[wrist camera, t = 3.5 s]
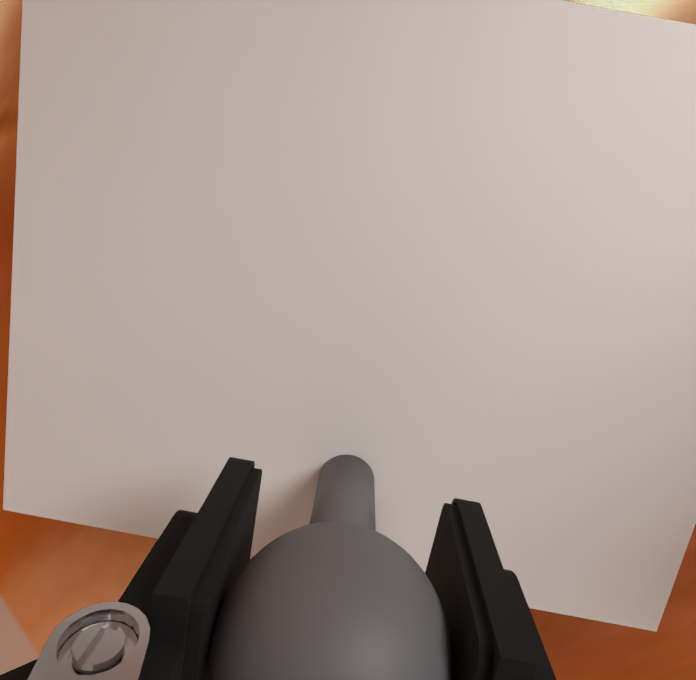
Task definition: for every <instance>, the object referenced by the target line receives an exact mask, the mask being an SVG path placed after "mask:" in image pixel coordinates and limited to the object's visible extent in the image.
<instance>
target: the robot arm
mask: <svg viewBox="0 0 696 680" xmlns="http://www.w3.org/2000/svg"><path fill="white" fill-rule="evenodd" d="M254 466H255V463H254V461H250V460H245V459H239V458H234V457H230V458H229V459H228V461H227V462H226V464H225V466H224V468H223V469H222V471H221V473H220V475H219V476H218V478H217V480H216V482H215V484H214V485H213V487H212V489H211V491H210V492H209V494H208V496H207V498H206V499H205V501H204V503H203V505H202V506H201V508H200V510H199V512H198V513H196V512H190V511H185V510H178V511H177V512H176V513H175V514H174V515H173V517H172V518H171V520H170V521H169V523H168V525H167V526H166V528H165V529H164V531H163V532H162V534H161V535H160V537H159V539H158V540H157V542H156V543H155V545H154V546H153V548H152V550H151V551H150V553H149V554H148V556H147V557H146V559H145V560H144V562H143V564H142V565H141V567H140V568H139V570H138V571H137V573H136V574H135V576H134V578H133V579H132V581H131V582H130V584H129V585H128V587H127V588H126V590H125V592H124V593H123V595H122V596H121V598H120V599H119V601H118V602H115V601H113V602H103V603H97V604H94V605H91V606H87V607H84V608H82V609H80V610H78V611H77V612H75V613H73V614H71V615H69V616H68V617H67V618H66V619H65V620H63V621H62V622H61V623H60V624H59V625H58V626H57V627H56V628H55V629H54V631H53V632H52V634H51V635H50V637H49V638H48V640H47V642H46V644H45V646H44V648H43V650H42V651H41V653H40V655H39V657H38V659H37V660H34V661H32V662H30V663H27V664H25V665H23V666H21V667H18V668H16V669H14V670H11V671H9V672H7V673H5V674H2V675H0V680H210V676H209V662H210V649H211V642H212V637H213V632H214V627H215V623H216V620H217V617H218V614H219V611H220V608H221V606H222V603H223V601H224V599H225V597H226V595H227V593H228V591H229V589H230V587H231V585H232V584H233V582H234V580H235V579H236V577H237V576H238V575H239V573H240V572H241V571H242V569H243V568H244V567H245V566H246V564H247V563H248V562H249V561H250V555H251V548H252V541H253V534H254V527H255V520H256V513H257V506H258V499H259V491H260V484H261V477H262V469H257V468H254ZM425 574H426V575H427V577H428V579H429V580H430V582H431V583H432V585H433V587H434V589H435V591H436V593H437V595H438V598H439V600H440V602H441V604H442V607H443V611H444V614H445V618H446V621H447V625H448V628H449V635H450V642H451V650H452V677H451V680H556V678H555V675H554V673H553V670H552V667H551V665H550V662H549V659H548V657H547V654H546V652H545V649H544V646H543V644H542V641H541V638H540V636H539V633H538V630H537V628H536V625H535V623H534V620H533V617H532V615H531V612H530V609H529V607H528V604H527V602H526V599H525V596H524V594H523V591H522V588H521V586H520V583H519V580H518V578H517V576H516V574H515V573H514V572H513V571H511V570H506V569H503V566H502V563H501V560H500V557H499V554H498V551H497V549H496V546H495V543H494V540H493V537H492V534H491V532H490V529H489V526H488V523H487V520H486V517H485V514H484V512H483V509H482V506H481V504H480V503H479V502H474V501H468V500H463V499H458V498H455V499H453V501H452V503H451V504H448V503H445V504H444V505H443V508H442V511H441V515H440V518H439V522H438V526H437V530H436V534H435V537H434V541H433V545H432V549H431V552H430V556H429V560H428V564H427V567H426V571H425Z"/></svg>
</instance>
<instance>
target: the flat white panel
mask: <svg viewBox="0 0 696 680" xmlns="http://www.w3.org/2000/svg"><path fill="white" fill-rule="evenodd" d="M230 457H234V458H239V459H245V460H250V461H254V463H255V466H254V468H257V469H262V477H261V484H260V491H259V499H258V506H257V513H256V520H255V527H254V534H253V541H252V548H251V555H250V556H253V558H252V559H250V561H249V562H248V563H247V564H246V566H245V567H244V568H243V569H242V571H241V572H240V573H239V575H238V576H237V577H236V579H235V580H234V582H233V584H232V585H231V587H230V589H229V591H228V593H227V595H226V597H225V599H224V601H223V603H222V606H221V608H220V611H219V614H218V617H217V620H216V623H215V627H214V632H213V637H212V642H211V649H210V662H209V676H210V680H451V677H452V650H451V642H450V635H449V628H448V625H447V621H446V618H445V614H444V611H443V607H442V604H441V602H440V600H439V598H438V595H437V593H436V591H435V589H434V587H433V585H432V583H431V582H430V580H429V579H428V577H427V575H426V574H425V571H426V567H427V564H428V560H429V556H430V552H431V549H432V545H433V541H434V537H435V534H436V530H437V526H438V522H439V518H440V515H441V511H442V508H443V505H444V504H445V503H448V504H451V503H452V501H453V499H455V498H458V499H463V500H468V501H474V502H479V503H480V504H481V506H482V509H483V512H484V514H485V517H486V520H487V523H488V526H489V529H490V532H491V534H492V537H493V540H494V543H495V546H496V549H497V551H498V554H499V557H500V560H501V563H502V566H503V569H506V570H511V571H513V572H514V573H515V574H516V576H517V578H518V580H519V583H520V586H521V588H522V591H523V594H524V596H525V599H526V602H527V604H528V607H529V608H532V609H538V610H543V611H548V612H554V613H559V614H565V615H570V616H575V617H581V618H586V619H591V620H597V621H602V622H608V623H613V624H618V625H624V626H629V627H634V628H640V629H645V630H650V631H657V629H658V626H659V623H660V620H661V617H662V615H663V612H664V609H665V606H666V604H667V601H668V598H669V595H670V593H671V590H672V587H673V584H674V582H675V579H676V576H677V573H678V570H679V568H680V565H681V562H682V559H683V557H684V554H685V551H686V548H687V546H688V543H689V540H690V537H691V535H692V532H693V529H694V526H695V523H696V25H694V24H689V23H684V22H678V21H673V20H667V19H662V18H656V17H651V16H645V15H640V14H634V13H629V12H623V11H618V10H612V9H607V8H601V7H596V6H590V5H585V4H579V3H574V2H568V1H563V0H23V2H22V28H21V54H20V80H19V105H18V131H17V157H16V183H15V209H14V235H13V261H12V287H11V313H10V339H9V365H8V391H7V417H6V442H5V468H4V494H3V510H6V511H11V512H17V513H22V514H28V515H33V516H38V517H44V518H49V519H54V520H60V521H65V522H71V523H76V524H81V525H87V526H92V527H97V528H103V529H108V530H114V531H119V532H124V533H130V534H135V535H140V536H146V537H151V538H156V539H159V537H160V535H161V534H162V532H163V531H164V529H165V528H166V526H167V525H168V523H169V521H170V520H171V518H172V517H173V515H174V514H175V513H176V512H177V511H178V510H185V511H190V512H196V513H198V512H199V510H200V508H201V506H202V505H203V503H204V501H205V499H206V498H207V496H208V494H209V492H210V491H211V489H212V487H213V485H214V484H215V482H216V480H217V478H218V476H219V475H220V473H221V471H222V469H223V468H224V466H225V464H226V462H227V461H228V459H229V458H230Z"/></svg>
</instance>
